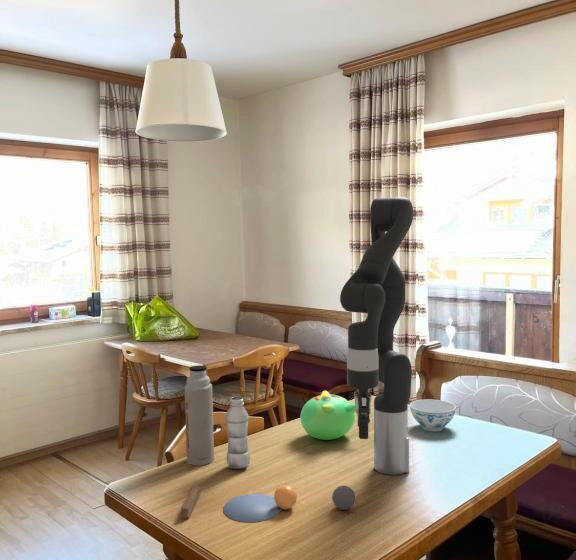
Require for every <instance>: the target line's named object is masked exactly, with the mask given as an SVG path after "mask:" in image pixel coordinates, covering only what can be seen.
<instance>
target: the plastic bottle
mask: <svg viewBox="0 0 576 560" xmlns="http://www.w3.org/2000/svg"><path fill="white" fill-rule="evenodd" d="M229 402H230V403H229V406H230V407H229V409H228V410H227V412H226V413H225V423H226V424H225V425H226V429H227V430H226V431H227V440H228V441H227V453H226V464H227V466H228V467H229V468H230V469H234V470H242V469H246V468H247V467H248V466H249V464H250V461H251V454H250V450H249V444H248V428H249V427H248V426H249V414H248V411H247V410H246V409H245V407H244V405H245V403H244V398H243V397H242V396H233V397H230V399H229Z"/></svg>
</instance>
